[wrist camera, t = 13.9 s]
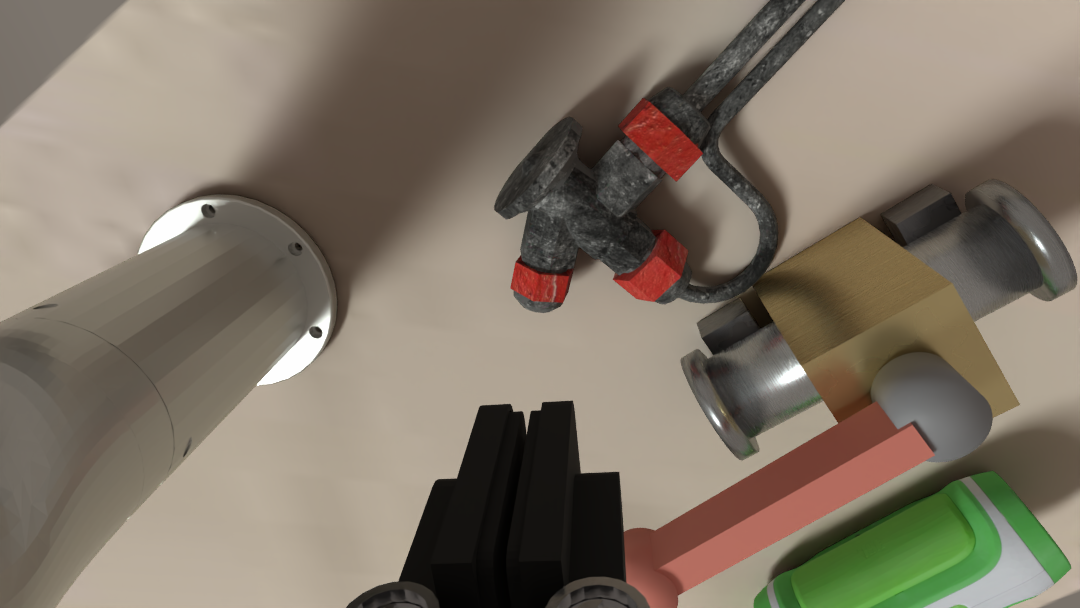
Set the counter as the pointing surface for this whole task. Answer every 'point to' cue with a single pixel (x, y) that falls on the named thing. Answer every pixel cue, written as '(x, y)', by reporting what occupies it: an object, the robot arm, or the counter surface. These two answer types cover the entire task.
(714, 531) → the lever
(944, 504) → the speaker
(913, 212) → the pipe valve
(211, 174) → the counter surface
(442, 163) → the counter surface
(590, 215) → the valve
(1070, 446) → the counter surface
